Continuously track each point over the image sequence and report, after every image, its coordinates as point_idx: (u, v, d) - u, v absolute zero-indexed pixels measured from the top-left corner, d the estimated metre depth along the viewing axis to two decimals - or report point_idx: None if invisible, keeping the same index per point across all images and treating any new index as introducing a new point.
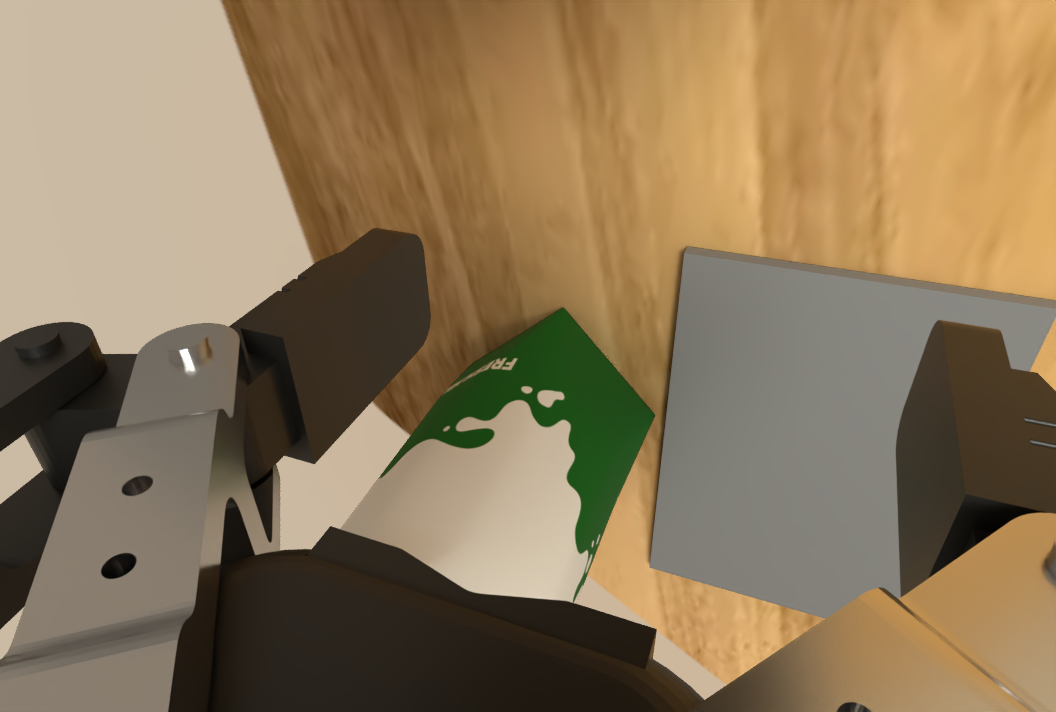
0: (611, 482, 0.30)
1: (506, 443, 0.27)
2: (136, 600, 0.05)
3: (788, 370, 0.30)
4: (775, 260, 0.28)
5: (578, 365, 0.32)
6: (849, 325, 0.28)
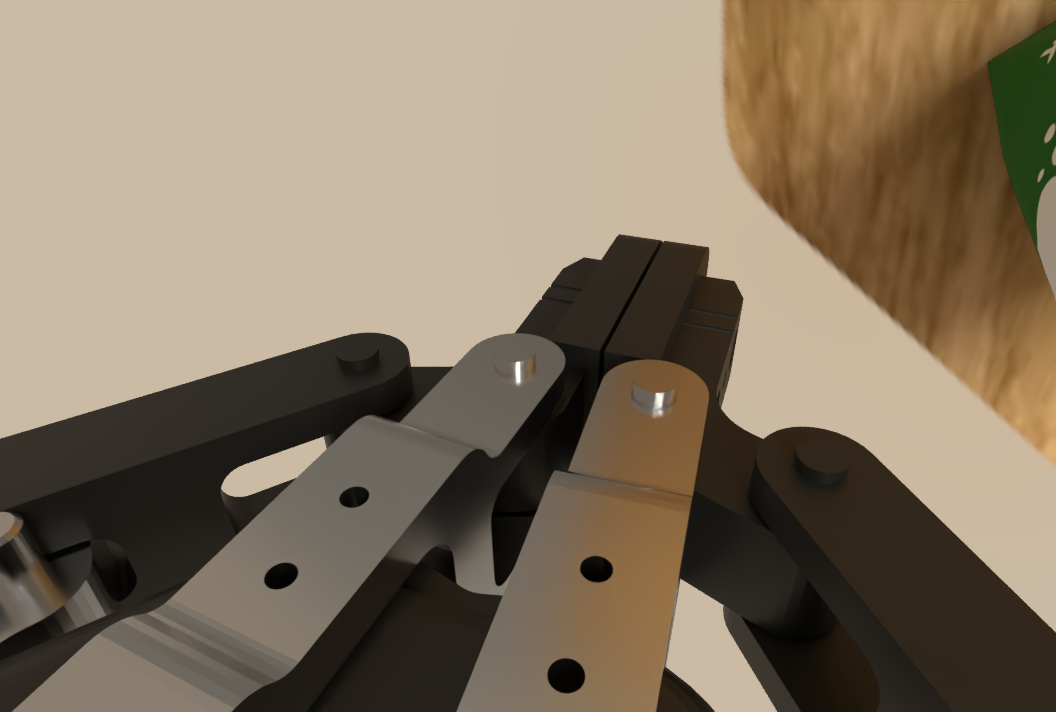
0: None
1: None
2: (262, 625, 0.05)
3: None
4: None
5: None
6: None
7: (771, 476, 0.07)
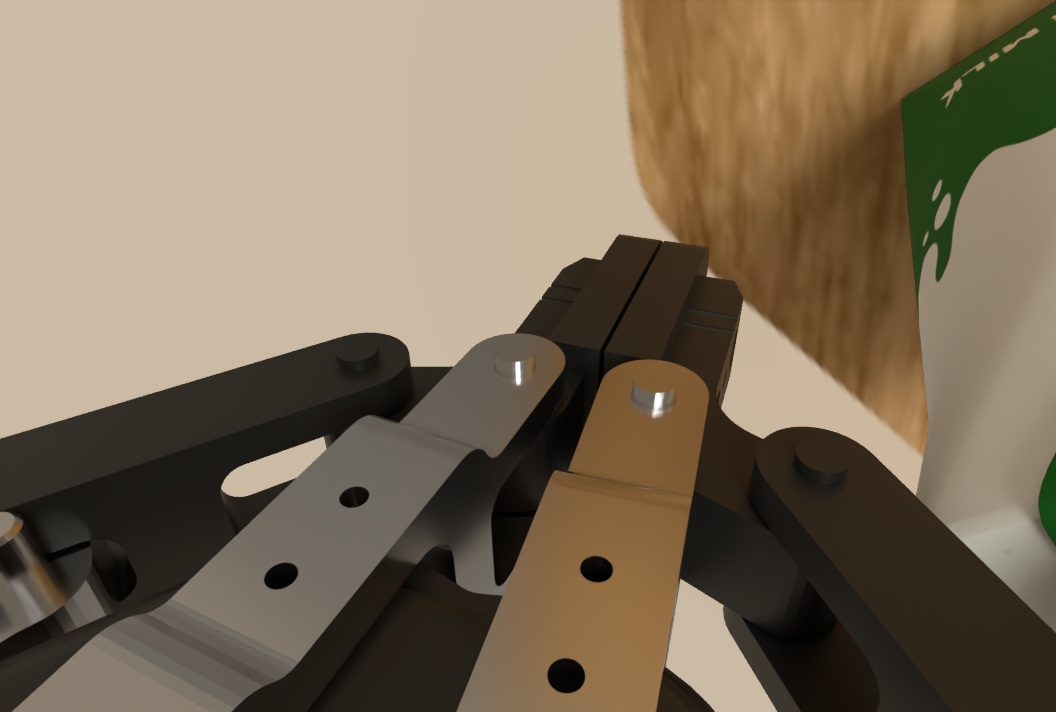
0: None
1: None
2: (264, 623, 0.05)
3: None
4: None
5: None
6: None
7: (771, 476, 0.07)
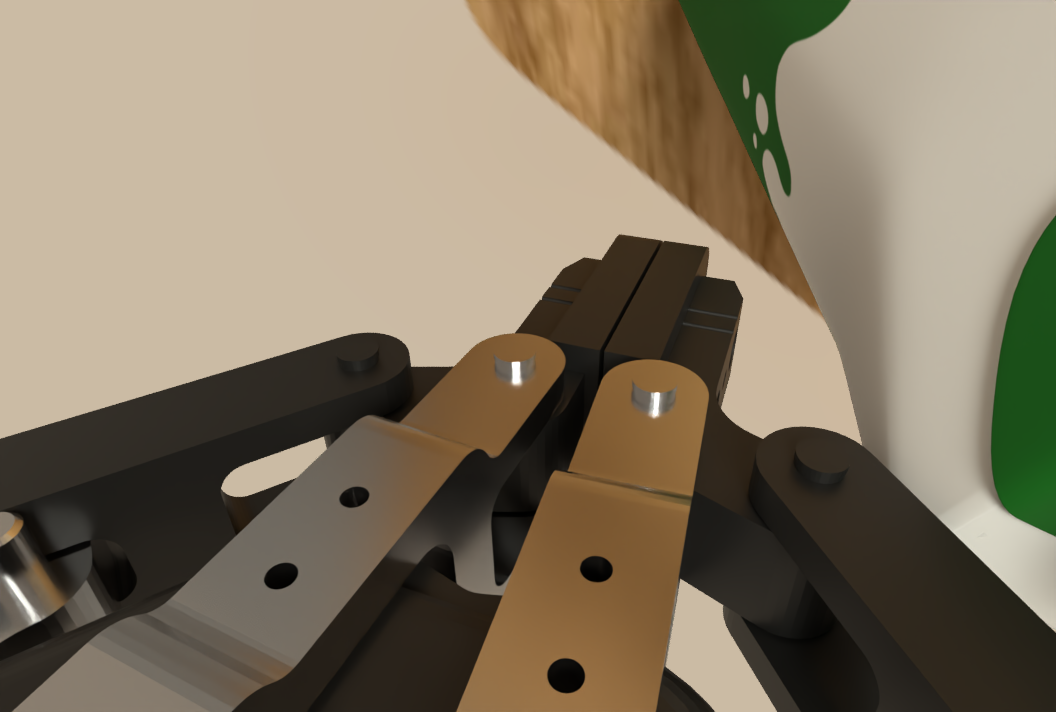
0: None
1: None
2: (261, 625, 0.05)
3: None
4: None
5: None
6: None
7: (770, 476, 0.07)
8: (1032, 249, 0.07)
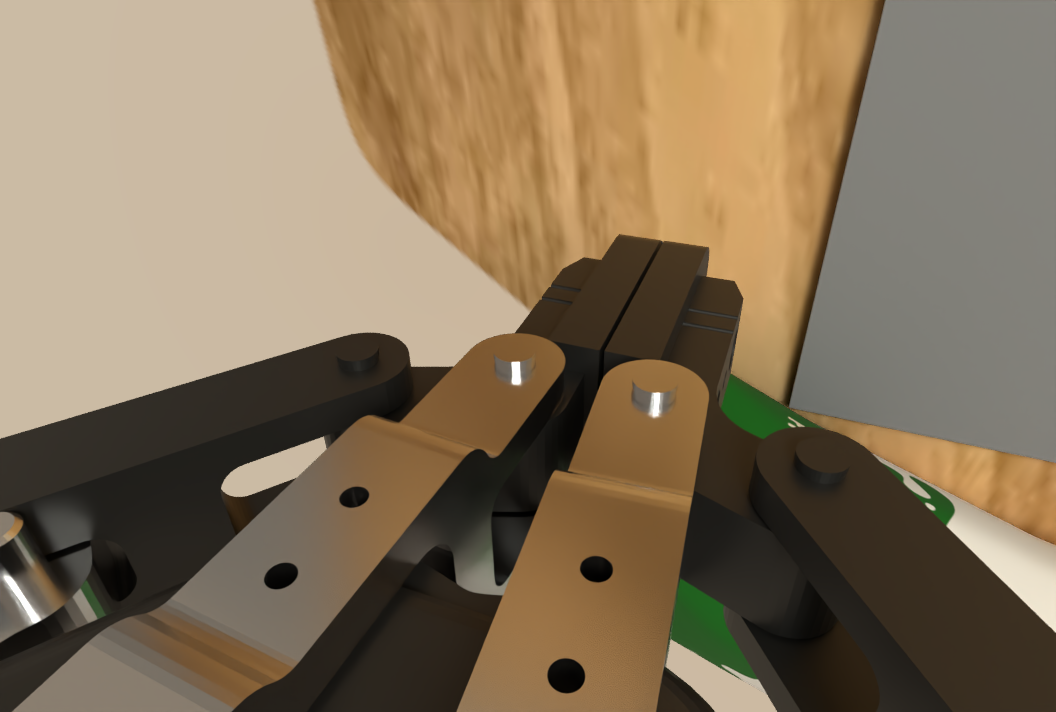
0: None
1: None
2: (263, 625, 0.05)
3: None
4: None
5: None
6: None
7: (771, 476, 0.07)
8: None
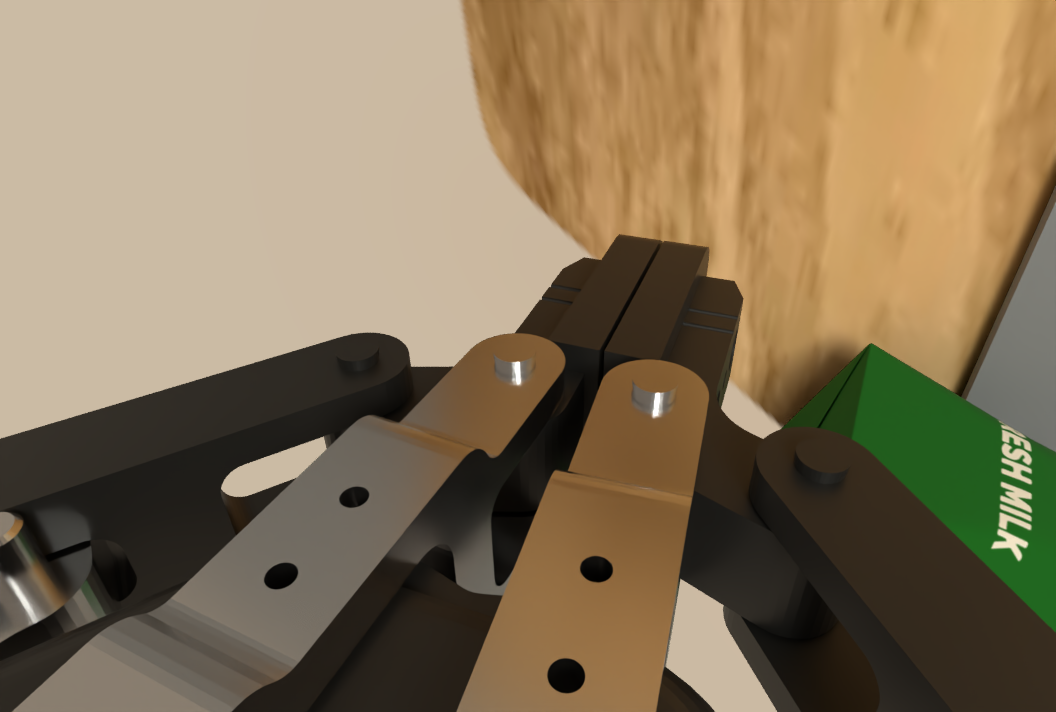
0: None
1: None
2: (263, 625, 0.05)
3: None
4: None
5: None
6: None
7: (771, 476, 0.07)
8: None
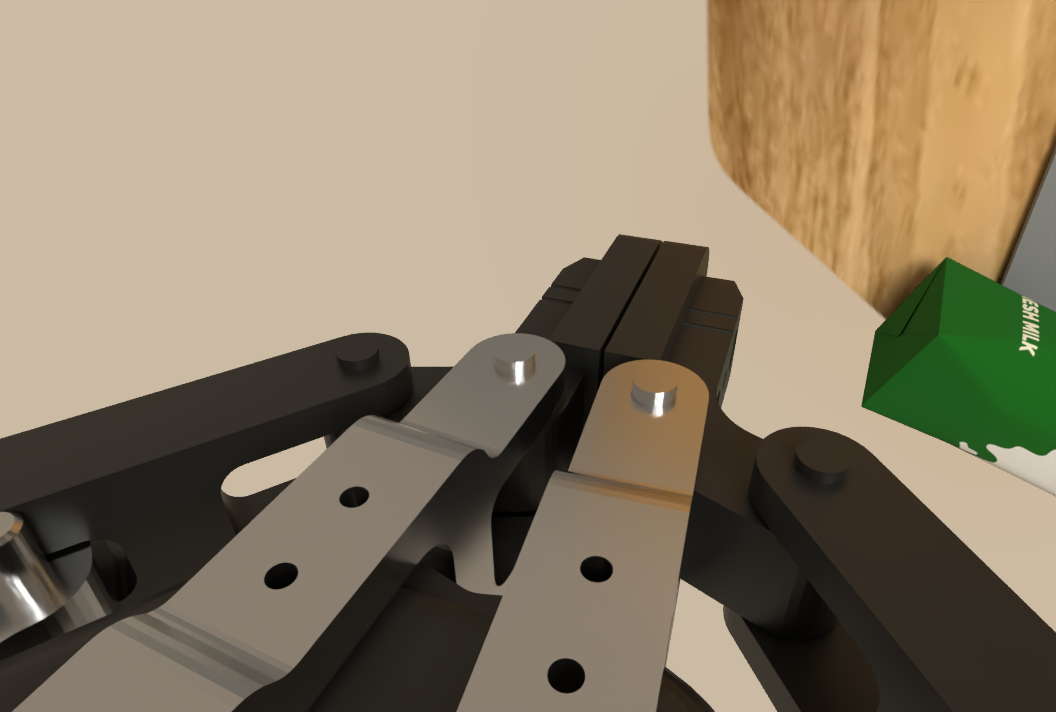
0: (1032, 404, 0.38)
1: (1013, 474, 0.41)
2: (263, 625, 0.05)
3: None
4: None
5: (922, 416, 0.41)
6: None
7: (771, 476, 0.07)
8: None
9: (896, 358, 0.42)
